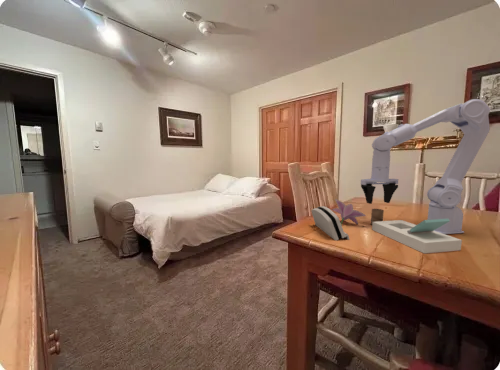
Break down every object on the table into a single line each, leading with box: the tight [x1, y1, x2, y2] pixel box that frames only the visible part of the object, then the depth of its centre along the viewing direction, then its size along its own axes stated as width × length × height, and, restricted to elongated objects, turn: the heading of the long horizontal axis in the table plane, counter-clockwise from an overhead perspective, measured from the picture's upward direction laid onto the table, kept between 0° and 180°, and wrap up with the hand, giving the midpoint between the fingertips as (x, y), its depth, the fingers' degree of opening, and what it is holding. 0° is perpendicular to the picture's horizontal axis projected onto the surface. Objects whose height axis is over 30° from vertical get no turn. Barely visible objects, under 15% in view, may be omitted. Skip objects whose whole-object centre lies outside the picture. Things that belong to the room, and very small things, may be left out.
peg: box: [370, 208, 385, 226], centre depth 84 cm, size 4×4×6 cm
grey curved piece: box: [311, 205, 351, 241], centre depth 76 cm, size 17×5×10 cm, turn 5°
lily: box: [331, 198, 366, 225], centre depth 85 cm, size 12×12×10 cm
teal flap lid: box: [407, 219, 450, 233], centre depth 64 cm, size 8×1×7 cm
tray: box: [371, 219, 463, 254], centre depth 69 cm, size 12×20×3 cm, turn 9°
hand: (378, 202), depth 83 cm, fingers open, 7 cm apart
